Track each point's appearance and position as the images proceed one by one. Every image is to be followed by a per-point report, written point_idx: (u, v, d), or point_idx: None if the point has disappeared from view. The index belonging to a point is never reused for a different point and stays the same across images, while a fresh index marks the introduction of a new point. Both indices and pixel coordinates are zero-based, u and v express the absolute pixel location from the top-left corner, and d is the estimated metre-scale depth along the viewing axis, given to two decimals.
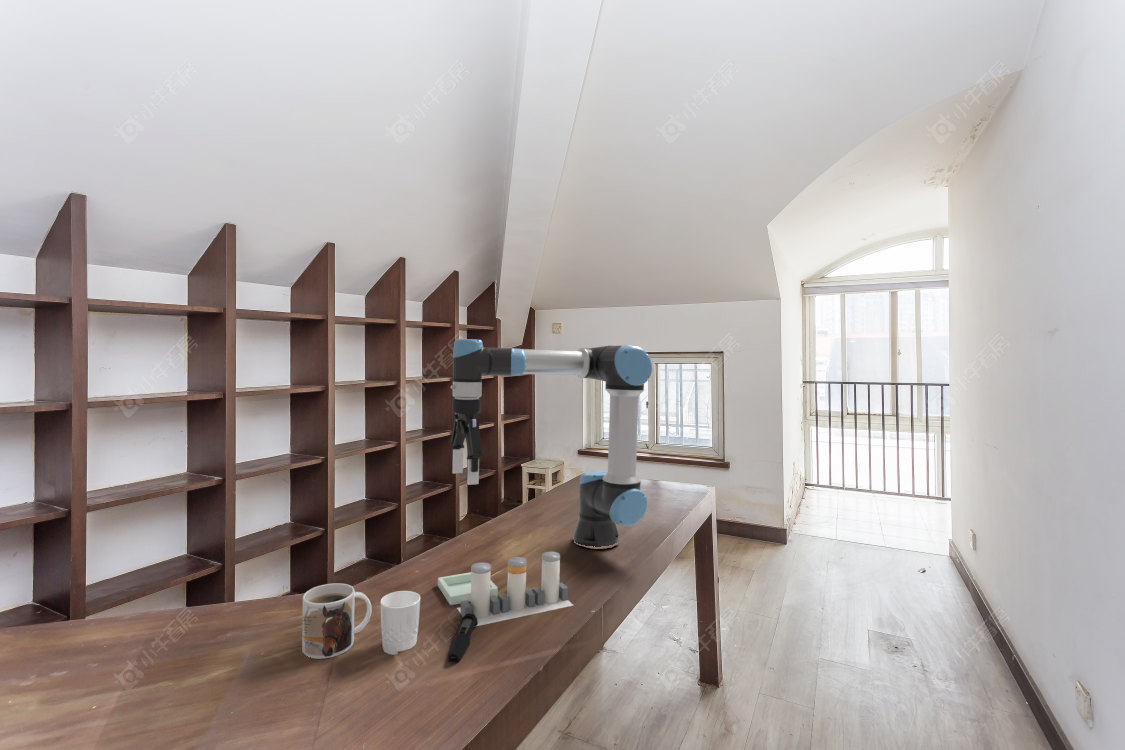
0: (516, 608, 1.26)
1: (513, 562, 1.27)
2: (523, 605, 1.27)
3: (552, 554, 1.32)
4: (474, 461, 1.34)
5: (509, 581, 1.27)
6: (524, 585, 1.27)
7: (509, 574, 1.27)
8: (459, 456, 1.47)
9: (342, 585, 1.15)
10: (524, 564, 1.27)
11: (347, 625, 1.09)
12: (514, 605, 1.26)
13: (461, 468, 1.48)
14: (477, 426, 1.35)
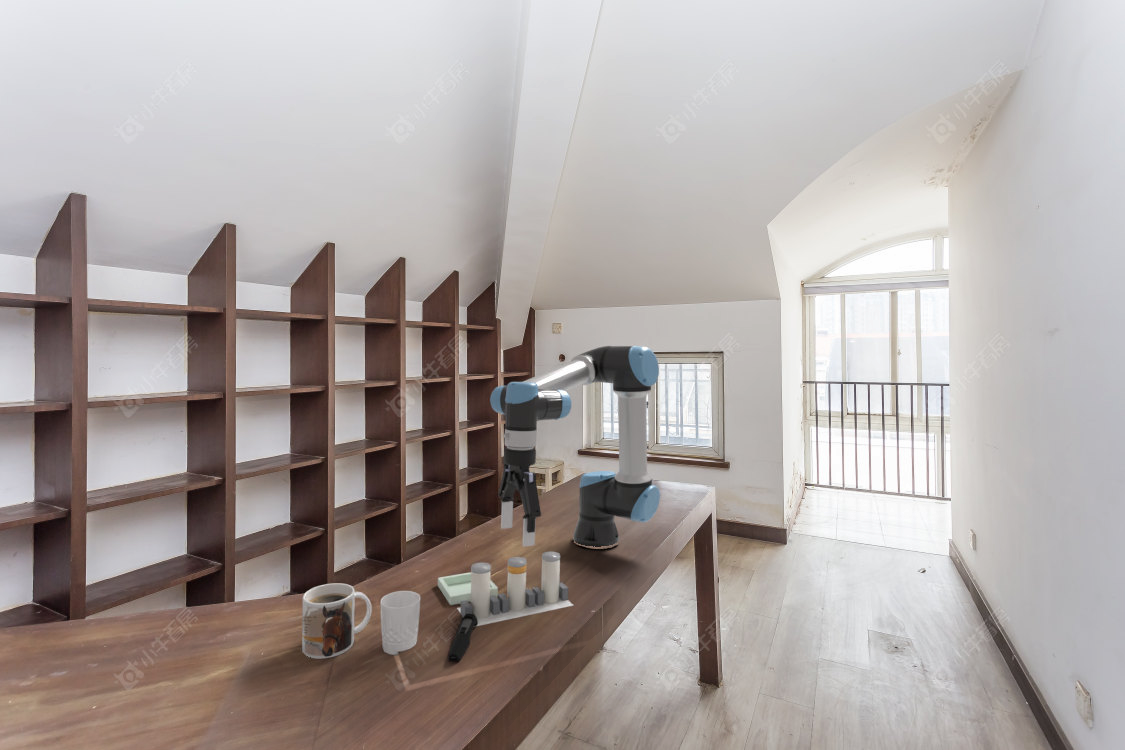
0: (516, 608, 1.26)
1: (513, 562, 1.27)
2: (523, 605, 1.27)
3: (552, 554, 1.32)
4: (531, 520, 1.20)
5: (509, 581, 1.27)
6: (524, 585, 1.27)
7: (509, 574, 1.27)
8: (508, 509, 1.33)
9: (342, 585, 1.15)
10: (524, 564, 1.27)
11: (347, 625, 1.09)
12: (514, 605, 1.26)
13: (510, 522, 1.34)
14: (534, 481, 1.21)
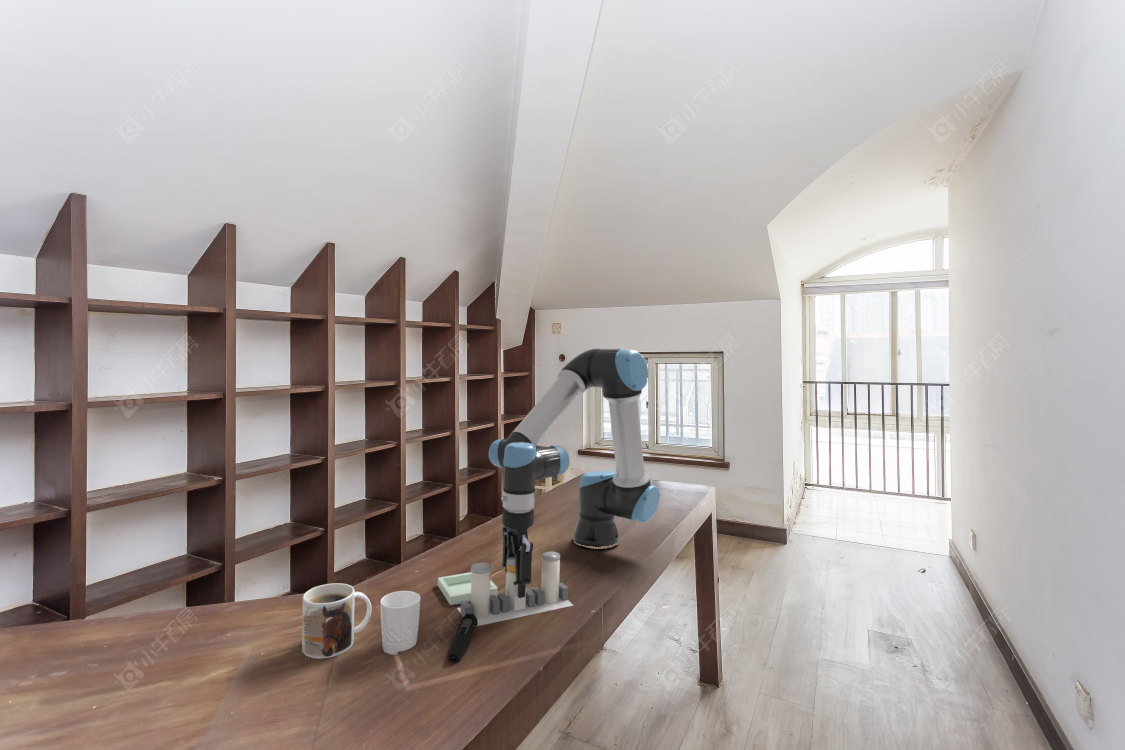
0: None
1: (512, 561, 1.27)
2: None
3: (552, 554, 1.32)
4: (521, 586, 1.25)
5: (508, 580, 1.27)
6: None
7: (508, 573, 1.27)
8: None
9: (342, 585, 1.15)
10: None
11: (347, 625, 1.09)
12: (513, 604, 1.27)
13: None
14: (530, 551, 1.23)
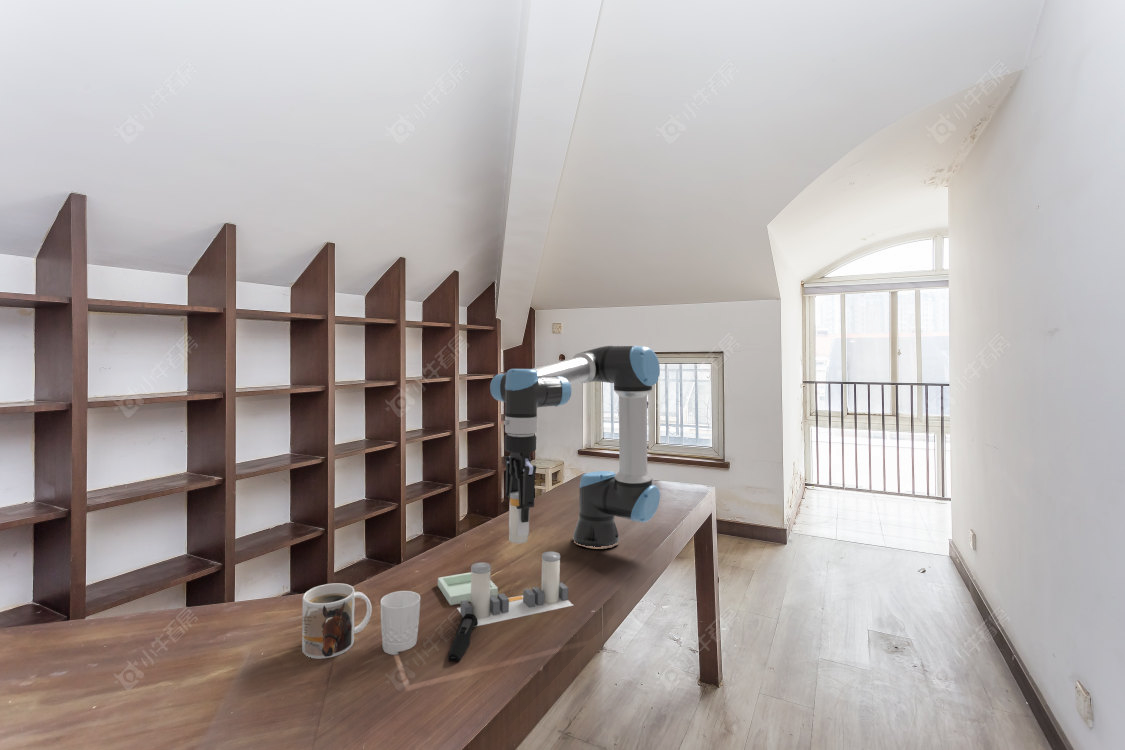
0: (518, 541, 1.26)
1: (515, 495, 1.26)
2: (525, 538, 1.27)
3: (552, 554, 1.32)
4: (524, 511, 1.24)
5: (511, 514, 1.26)
6: None
7: (511, 507, 1.26)
8: None
9: (342, 585, 1.15)
10: None
11: (347, 625, 1.09)
12: (516, 538, 1.26)
13: None
14: (533, 474, 1.22)
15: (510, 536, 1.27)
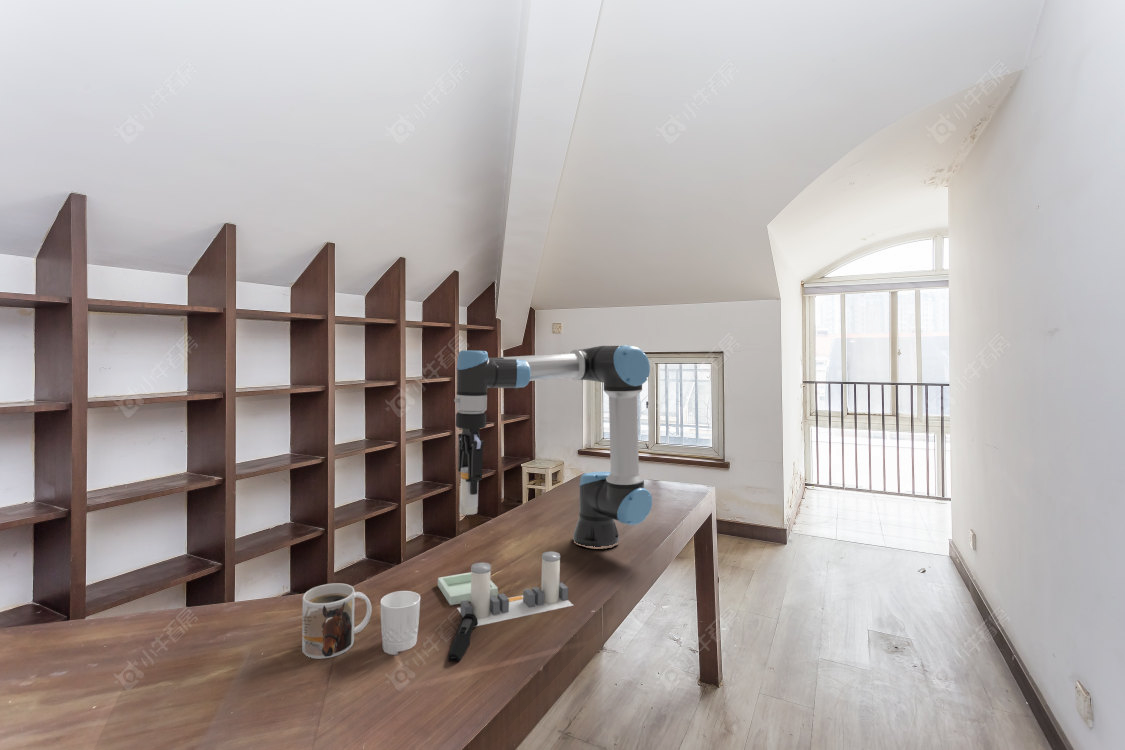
0: (468, 512, 1.33)
1: (465, 469, 1.34)
2: (475, 510, 1.34)
3: (552, 554, 1.32)
4: (473, 483, 1.32)
5: (461, 487, 1.34)
6: None
7: (461, 480, 1.34)
8: None
9: (342, 585, 1.15)
10: None
11: (347, 625, 1.09)
12: (466, 509, 1.33)
13: None
14: (481, 448, 1.30)
15: (460, 508, 1.34)
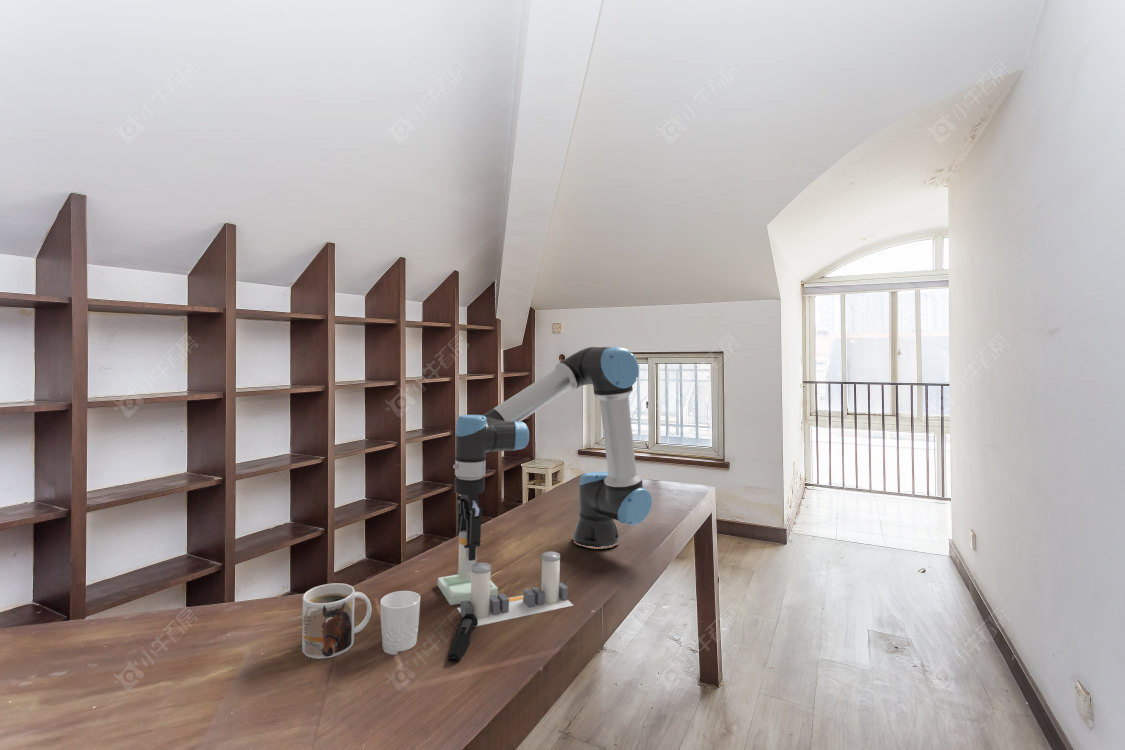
0: (466, 577, 1.34)
1: (464, 534, 1.34)
2: None
3: (552, 554, 1.32)
4: (471, 550, 1.32)
5: (460, 552, 1.34)
6: None
7: (460, 545, 1.34)
8: None
9: (342, 585, 1.15)
10: None
11: (347, 625, 1.09)
12: (464, 574, 1.34)
13: None
14: (479, 515, 1.30)
15: (458, 573, 1.35)
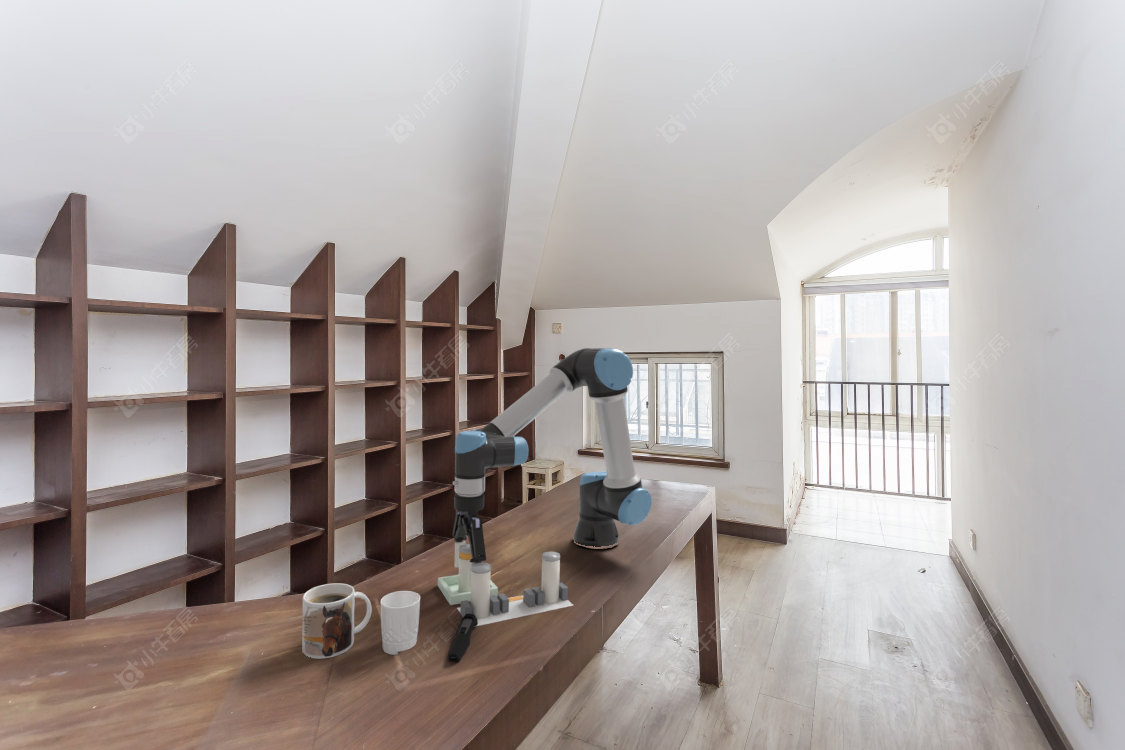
0: None
1: (464, 549, 1.34)
2: None
3: (552, 554, 1.32)
4: None
5: (460, 566, 1.34)
6: None
7: (460, 560, 1.34)
8: None
9: (342, 585, 1.15)
10: None
11: (347, 625, 1.09)
12: (465, 589, 1.34)
13: None
14: (480, 526, 1.30)
15: (459, 587, 1.35)
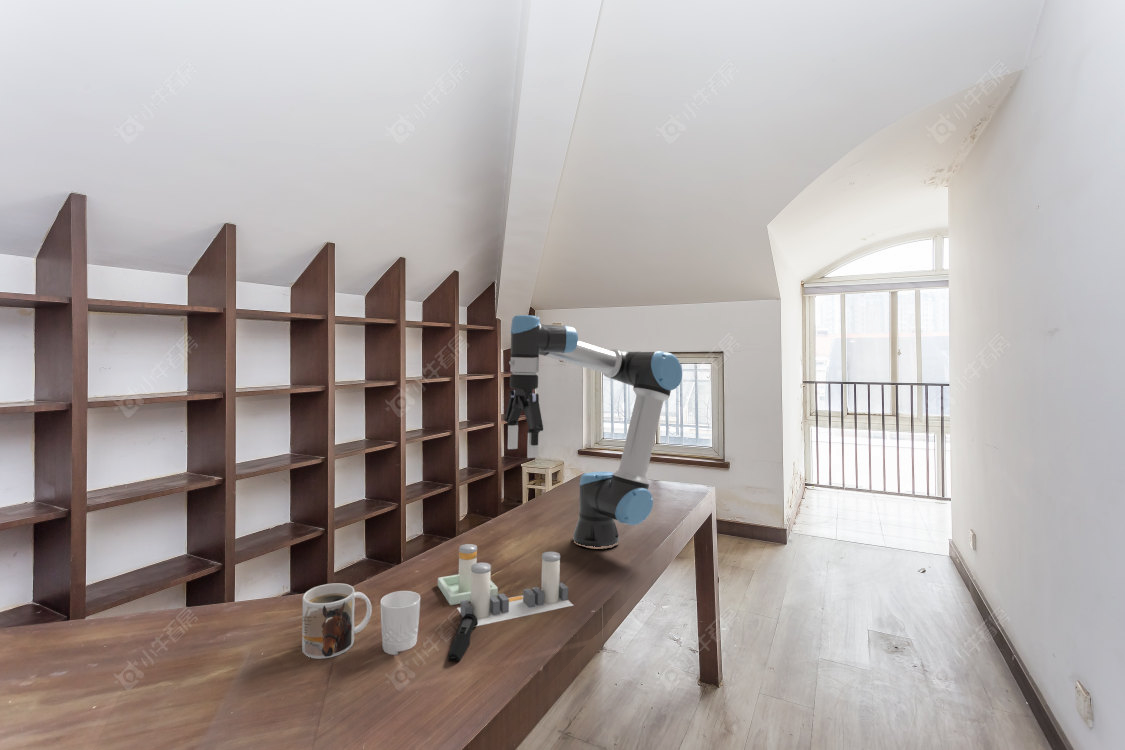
0: None
1: (464, 548, 1.34)
2: None
3: (552, 554, 1.32)
4: (534, 435, 1.36)
5: (460, 566, 1.34)
6: None
7: (460, 560, 1.34)
8: (514, 432, 1.49)
9: (342, 585, 1.15)
10: (474, 550, 1.35)
11: (347, 625, 1.09)
12: (465, 589, 1.34)
13: (516, 444, 1.50)
14: (537, 400, 1.37)
15: (459, 587, 1.35)
